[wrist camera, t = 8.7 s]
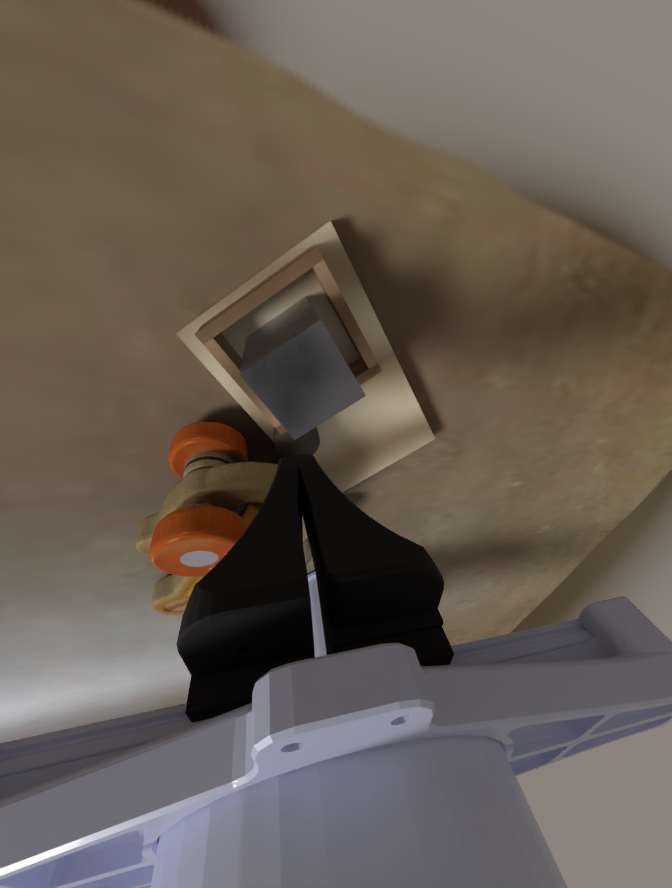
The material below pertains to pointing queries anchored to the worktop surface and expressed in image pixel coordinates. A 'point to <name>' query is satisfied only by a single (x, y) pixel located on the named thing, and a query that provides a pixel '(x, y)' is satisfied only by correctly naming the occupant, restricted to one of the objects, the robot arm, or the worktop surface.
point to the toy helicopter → (203, 509)
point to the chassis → (356, 336)
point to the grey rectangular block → (298, 370)
